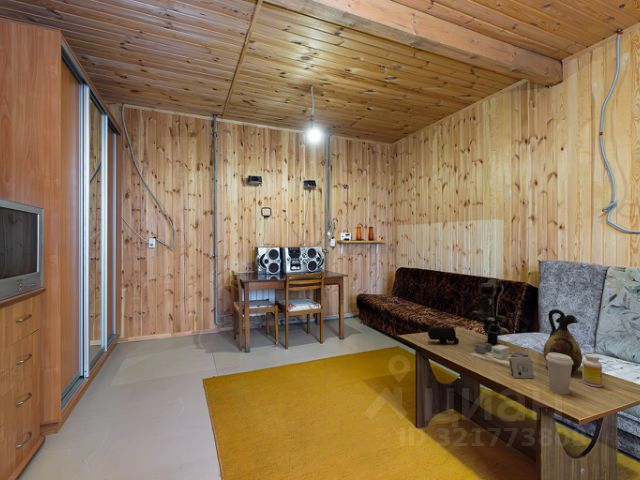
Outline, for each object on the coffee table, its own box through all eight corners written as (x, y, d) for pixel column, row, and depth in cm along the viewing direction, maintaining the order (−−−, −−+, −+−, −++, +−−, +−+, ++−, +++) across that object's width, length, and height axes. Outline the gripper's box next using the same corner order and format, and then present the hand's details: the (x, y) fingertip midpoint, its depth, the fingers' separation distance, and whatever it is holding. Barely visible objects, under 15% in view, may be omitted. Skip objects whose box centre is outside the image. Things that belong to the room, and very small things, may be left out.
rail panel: (486, 349, 184) (486, 340, 184) (532, 362, 164) (532, 352, 164) (470, 355, 174) (470, 345, 174) (516, 370, 154) (517, 359, 154)
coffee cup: (543, 390, 133) (543, 355, 133) (547, 383, 140) (547, 350, 140) (571, 398, 126) (571, 361, 126) (575, 390, 133) (575, 355, 133)
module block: (499, 353, 173) (499, 344, 173) (509, 356, 169) (509, 347, 169) (491, 356, 169) (491, 347, 169) (501, 359, 165) (501, 349, 165)
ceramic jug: (588, 373, 152) (588, 312, 152) (574, 379, 144) (574, 315, 144) (548, 361, 166) (548, 305, 167) (533, 367, 158) (534, 308, 159)
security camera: (460, 345, 191) (460, 329, 191) (430, 345, 191) (430, 329, 191) (456, 342, 198) (456, 326, 198) (426, 341, 198) (427, 326, 198)
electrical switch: (514, 378, 145) (513, 358, 146) (507, 375, 150) (506, 355, 151) (534, 379, 145) (533, 358, 146) (527, 375, 150) (526, 355, 151)
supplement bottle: (603, 389, 135) (603, 359, 135) (583, 385, 138) (583, 356, 139) (599, 383, 141) (600, 354, 141) (581, 379, 144) (581, 352, 144)
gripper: (465, 303, 188) (465, 329, 188) (497, 309, 173) (497, 337, 172) (475, 301, 194) (475, 326, 194) (506, 306, 179) (506, 333, 179)
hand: (487, 330), depth 185 cm, fingers closed
